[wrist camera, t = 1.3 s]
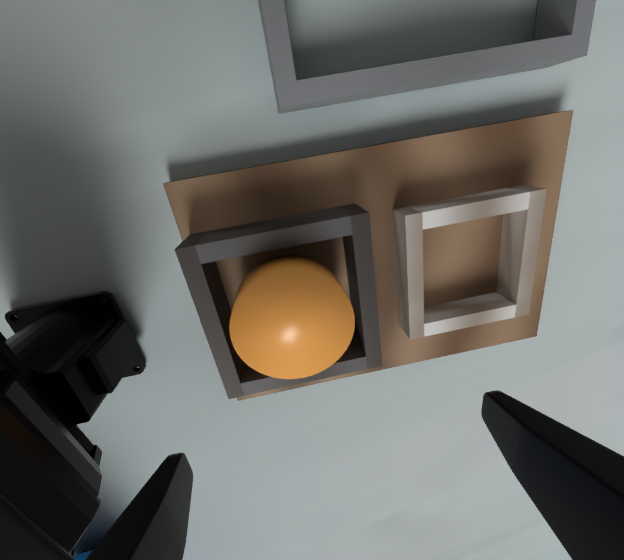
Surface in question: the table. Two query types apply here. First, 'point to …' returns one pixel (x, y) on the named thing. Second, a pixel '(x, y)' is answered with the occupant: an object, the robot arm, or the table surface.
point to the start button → (291, 318)
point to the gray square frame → (427, 72)
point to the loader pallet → (386, 241)
